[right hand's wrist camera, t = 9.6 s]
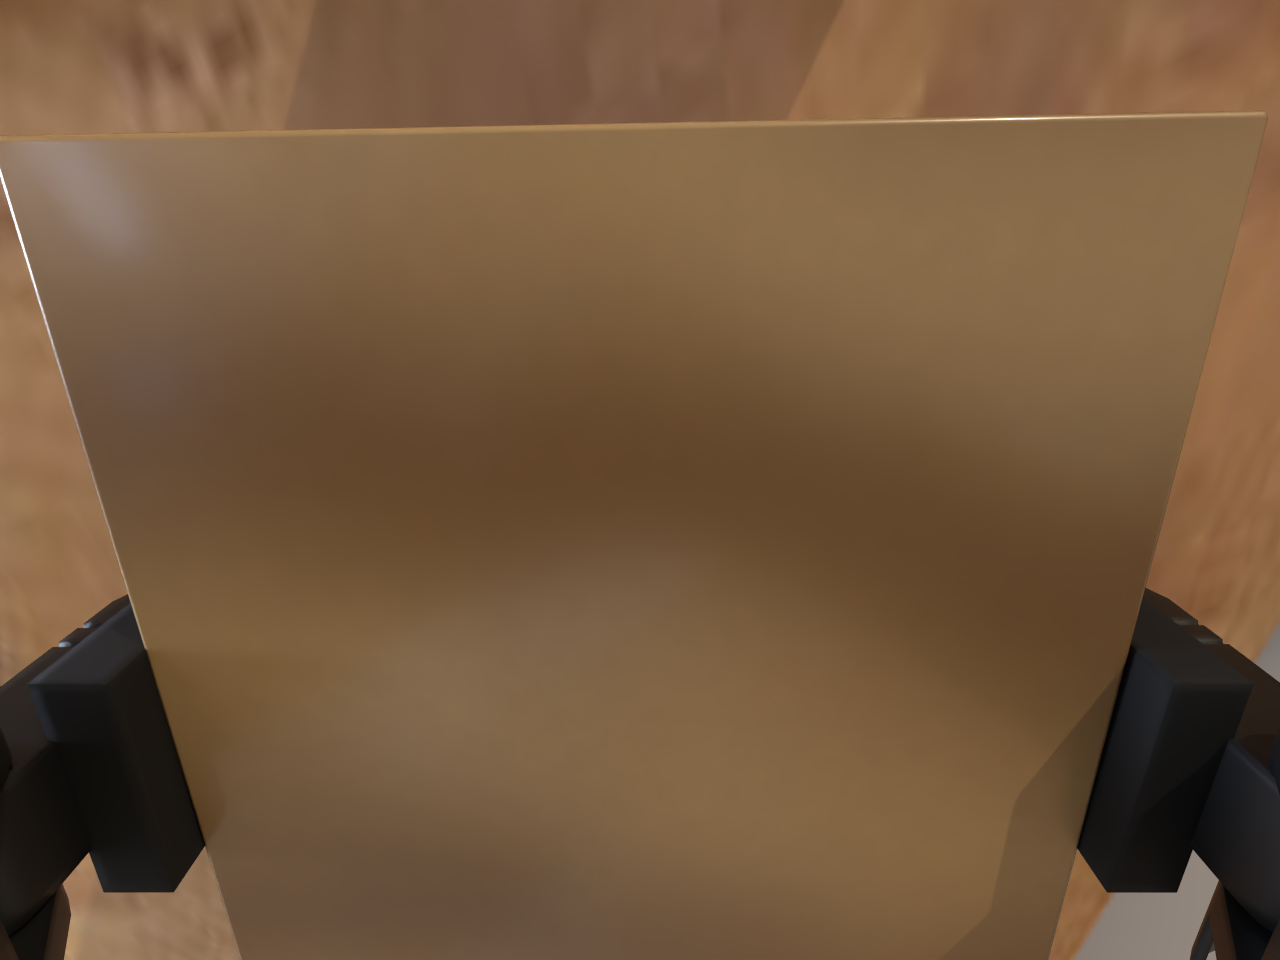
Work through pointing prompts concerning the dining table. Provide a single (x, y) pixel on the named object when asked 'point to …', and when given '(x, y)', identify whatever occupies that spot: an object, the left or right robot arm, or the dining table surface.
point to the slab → (638, 510)
